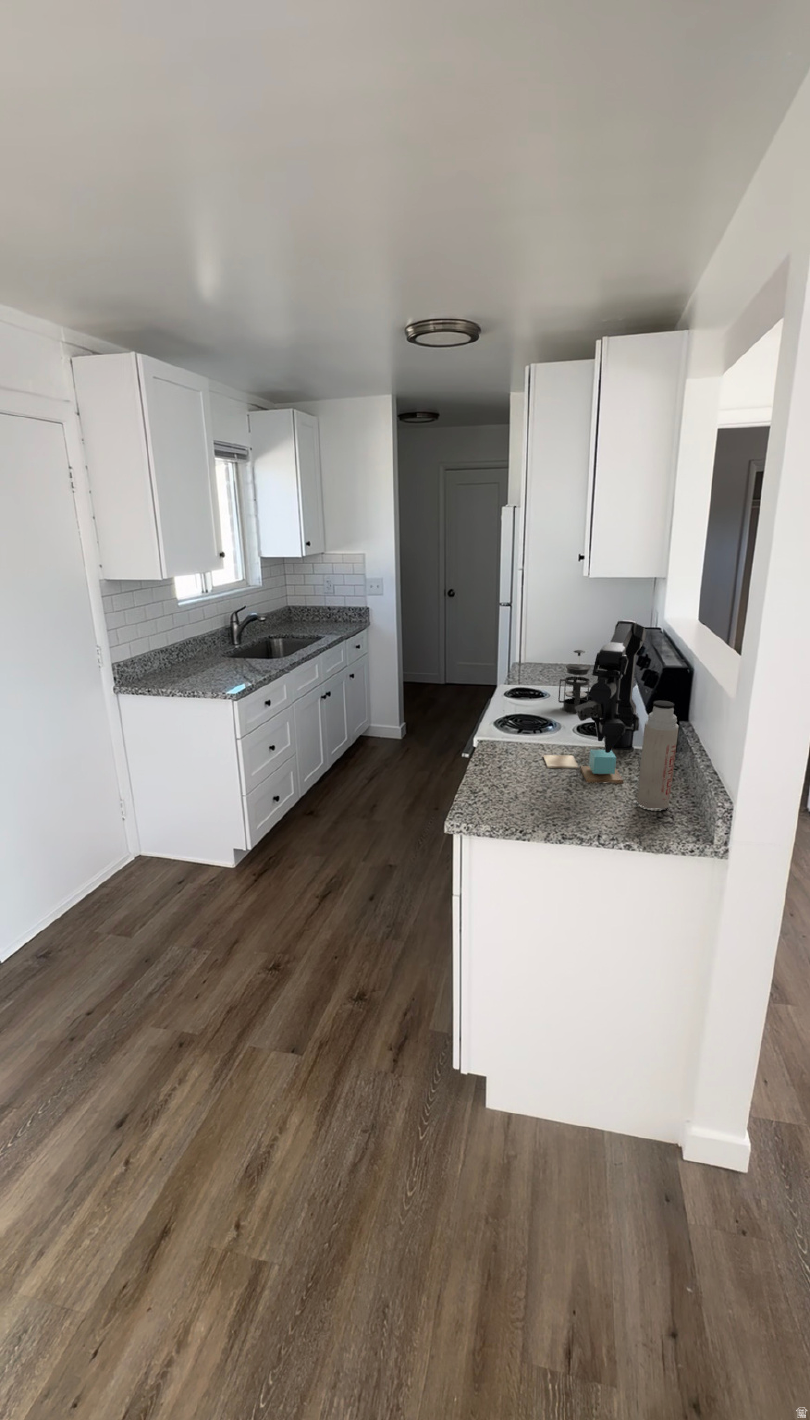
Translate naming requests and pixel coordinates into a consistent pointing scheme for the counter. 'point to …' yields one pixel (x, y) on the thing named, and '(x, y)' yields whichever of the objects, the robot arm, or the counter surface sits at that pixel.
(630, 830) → the counter surface
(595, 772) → the teal cube
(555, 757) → the board
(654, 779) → the thermos bottle
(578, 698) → the french press
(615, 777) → the post stand
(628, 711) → the robot arm
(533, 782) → the counter surface
